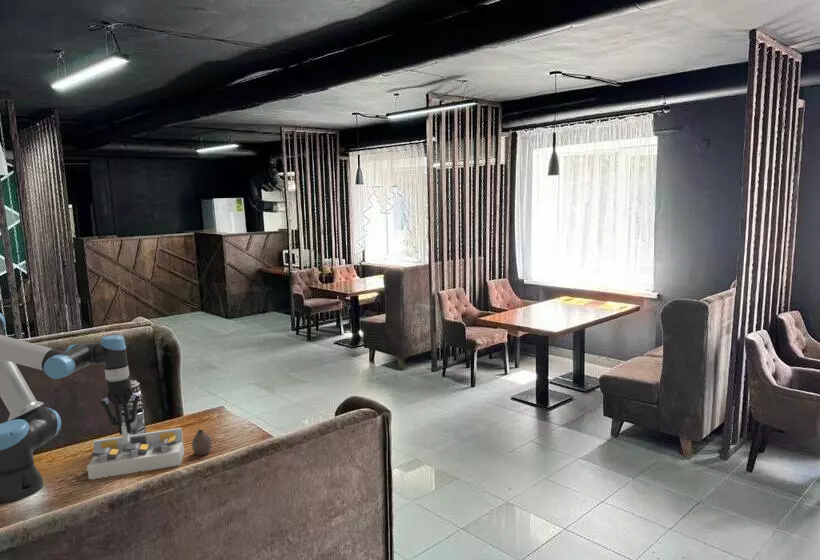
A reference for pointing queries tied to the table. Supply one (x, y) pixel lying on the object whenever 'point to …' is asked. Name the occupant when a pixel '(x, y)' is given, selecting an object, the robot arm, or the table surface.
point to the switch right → (165, 443)
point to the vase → (201, 443)
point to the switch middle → (136, 447)
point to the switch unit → (137, 454)
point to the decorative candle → (136, 390)
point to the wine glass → (137, 423)
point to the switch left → (106, 452)
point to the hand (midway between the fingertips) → (126, 441)
